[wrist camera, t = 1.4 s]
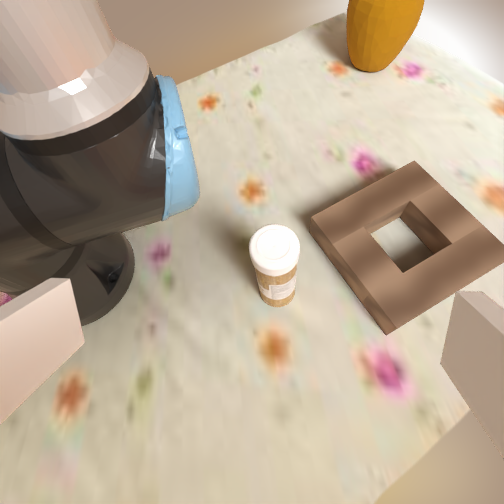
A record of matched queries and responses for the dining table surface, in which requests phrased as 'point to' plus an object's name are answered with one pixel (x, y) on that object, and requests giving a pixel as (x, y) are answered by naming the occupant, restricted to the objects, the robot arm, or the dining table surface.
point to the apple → (379, 30)
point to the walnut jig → (424, 226)
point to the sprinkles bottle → (275, 263)
